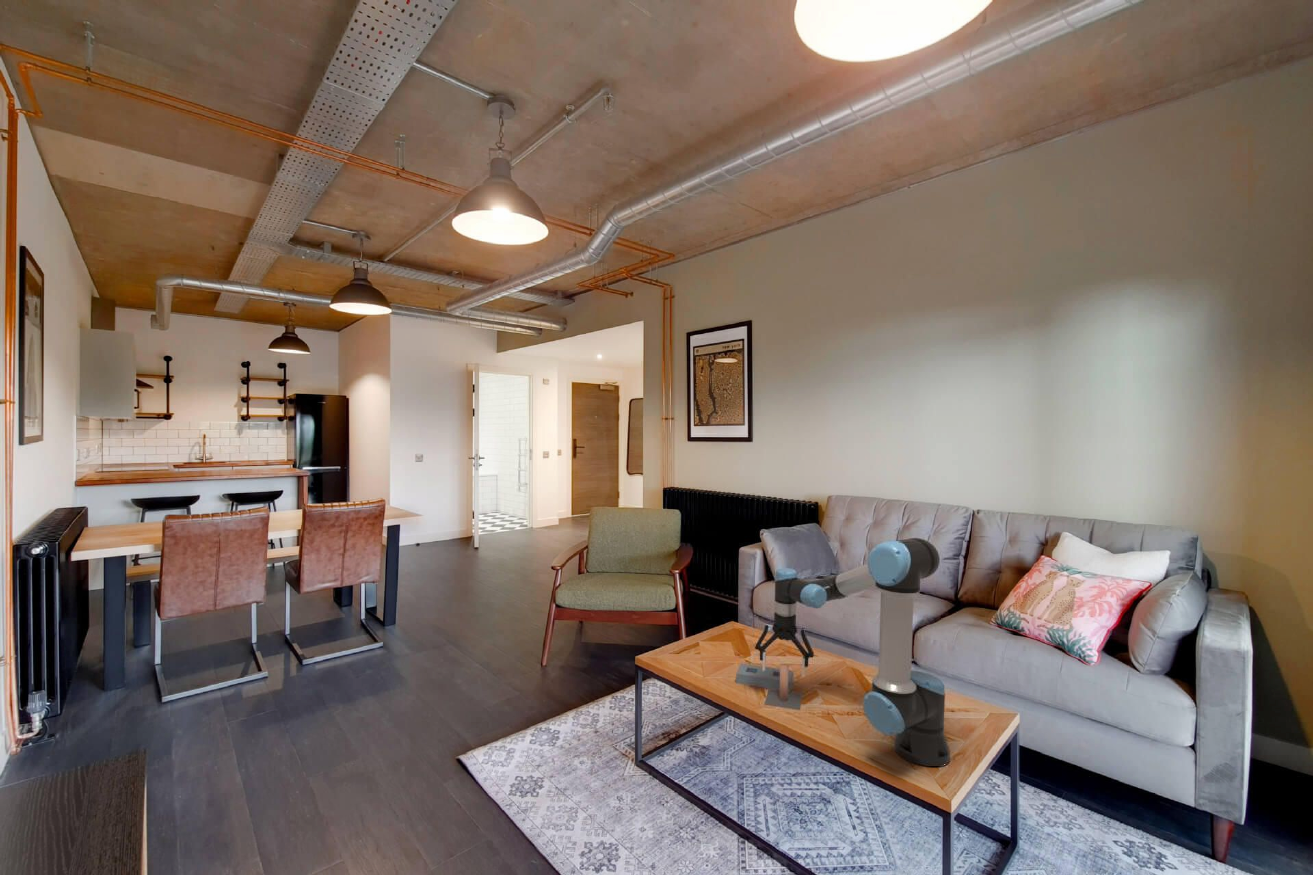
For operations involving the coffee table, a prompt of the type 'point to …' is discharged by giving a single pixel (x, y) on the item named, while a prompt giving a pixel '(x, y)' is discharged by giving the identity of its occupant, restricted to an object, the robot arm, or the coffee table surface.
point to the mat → (774, 700)
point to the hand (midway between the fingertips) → (783, 672)
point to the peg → (784, 682)
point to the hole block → (761, 676)
